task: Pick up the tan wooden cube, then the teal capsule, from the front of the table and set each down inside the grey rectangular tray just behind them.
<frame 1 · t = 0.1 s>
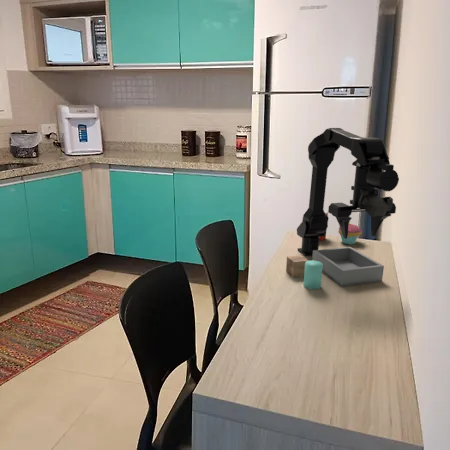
hand: (359, 237, 128), 15 cm above the table, tool pointing down, fingers open, 9 cm apart
tan wooden cube: (296, 273, 140), on the table
canned food: (315, 238, 174), on the table
cupcake: (348, 242, 169), on the table
grey rectangular tray: (345, 272, 140), on the table
teal capsule: (312, 285, 130), on the table
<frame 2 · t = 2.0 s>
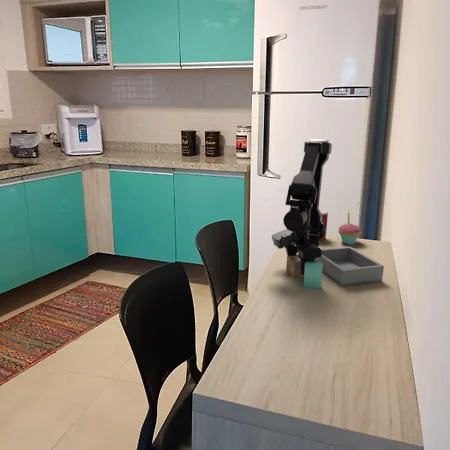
hand: (297, 269, 139), 1 cm above the table, tool pointing down, fingers open, 8 cm apart
nothing on the table moved.
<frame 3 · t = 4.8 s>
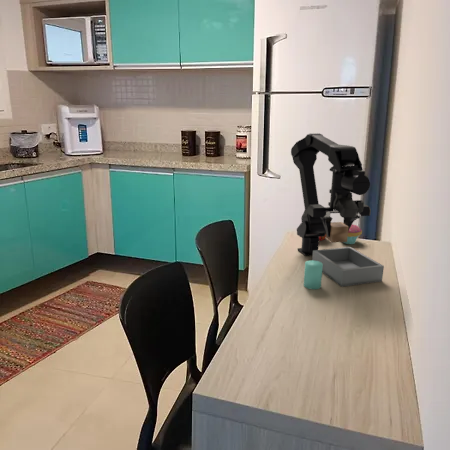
hand: (336, 236, 140), 11 cm above the table, tool pointing down, fingers closed on tan wooden cube, 5 cm apart
tan wooden cube: (336, 239, 140), point 10 cm above the table, touching gripper
everything else where it was.
when the fingers open (3 cm above the table, at t = 6.9 s): tan wooden cube drops 1 cm, resting on grey rectangular tray.
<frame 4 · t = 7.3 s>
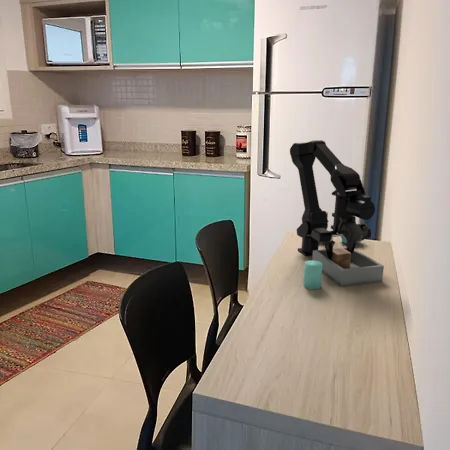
hand: (339, 258, 143), 3 cm above the table, tool pointing down, fingers open, 6 cm apart
tan wooden cube: (338, 265, 144), point 1 cm above the table, touching grey rectangular tray
everything else where it was.
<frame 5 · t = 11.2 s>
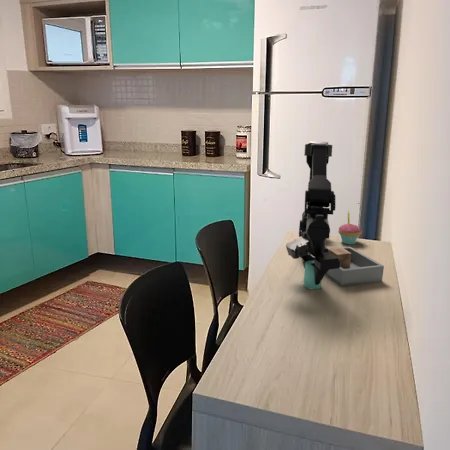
hand: (312, 280, 130), 2 cm above the table, tool pointing down, fingers closed on teal capsule, 5 cm apart
teal capsule: (312, 285, 130), on the table, touching gripper
everything else where it was.
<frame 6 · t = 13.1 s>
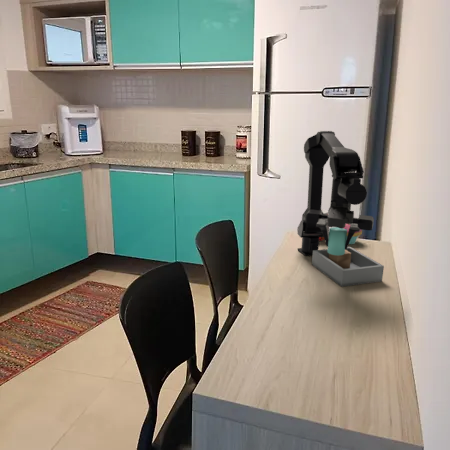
hand: (336, 247, 131), 11 cm above the table, tool pointing down, fingers closed on teal capsule, 5 cm apart
teal capsule: (335, 252, 131), point 9 cm above the table, touching gripper
everything else where it was.
when the fingers open (4 cm above the table, at t = 15.4 s): teal capsule drops 1 cm, resting on grey rectangular tray.
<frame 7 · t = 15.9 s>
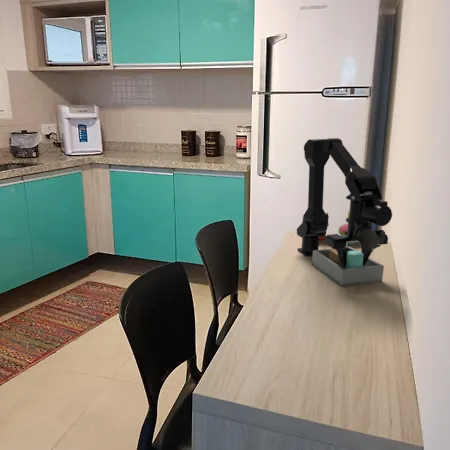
hand: (353, 266, 136), 4 cm above the table, tool pointing down, fingers open, 6 cm apart
teal capsule: (352, 275, 136), point 1 cm above the table, touching grey rectangular tray
everything else where it was.
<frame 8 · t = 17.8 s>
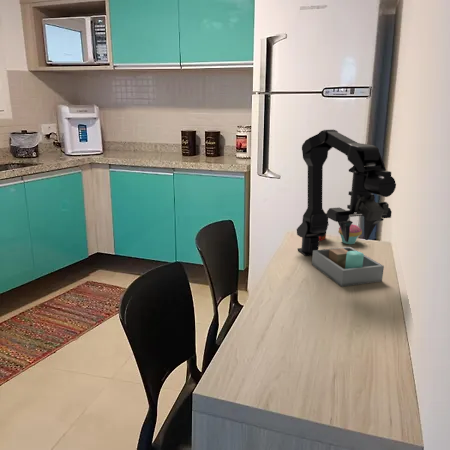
hand: (356, 240, 133), 12 cm above the table, tool pointing down, fingers open, 6 cm apart
nothing on the table moved.
at the end: tan wooden cube inside the target area on the grey rectangular tray (4.0 cm from its centre), point 0.8 cm above the grey rectangular tray's base; teal capsule inside the target area on the grey rectangular tray (4.0 cm from its centre), point 0.8 cm above the grey rectangular tray's base; teal capsule tilted 1° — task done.
